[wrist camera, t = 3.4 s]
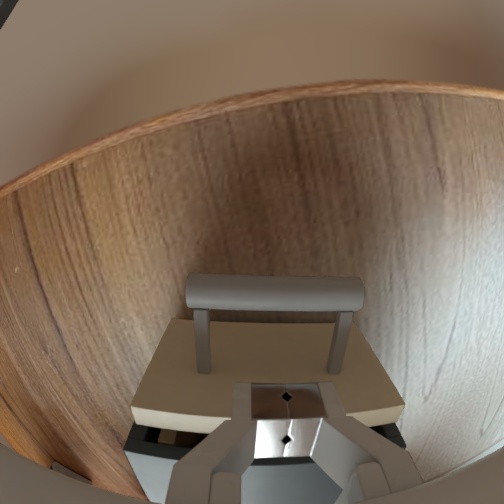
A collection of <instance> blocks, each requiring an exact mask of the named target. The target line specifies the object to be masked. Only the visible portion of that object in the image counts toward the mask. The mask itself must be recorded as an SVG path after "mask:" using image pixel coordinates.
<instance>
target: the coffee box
mask: <svg viewBox="0 0 504 504" xmlns="http://www.w3.org/2000/svg"><path fill="white" fill-rule="evenodd" d="M50 469H51V470H54V471H56V472H58V473H61V474H63V475H65V476H68V477H70V478H73V479H76V480H78V481H81V482H84V483H87V484H89V485H92V482H91V481H89V480H87V479H86V478H84V477H82V476H80V475H78V474H76V473H74V472H73V471H71V470H69V469H67V468H66V467H64V466H62V465H61V464H59V463H57V462H56V461H54V462H53V464H52V465H51V467H50Z"/></svg>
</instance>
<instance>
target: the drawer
mask: <svg viewBox="0 0 504 504" xmlns="http://www.w3.org/2000/svg"><path fill="white" fill-rule="evenodd" d="M185 299H186V305H187V307H189V308H194V309H193V318H194V320H183V319H171V321H170V323H169V325H168V327H167V329H166V331H165V333H164V335H163V337H162V339H161V341H160V343H159V345H158V347H157V349H156V351H155V353H154V355H153V357H152V360H151V362H150V364H149V366H148V368H147V370H146V372H145V374H144V376H143V379H142V381H141V383H140V385H139V387H138V389H137V392H136V394H135V396H134V398H133V400H132V402H131V405H130V407H131V411H132V414H133V417H134V420H135V423H136V424H139V425H144V426H150V427H156V428H161V431H160V435H159V438H158V444H163V445H170V446H177V447H185V448H194V447H196V446H197V445H198V444H199V443H200V442H201V441H202V440H204V439H205V438H206V437H207V436H208V435H209V434H210V433H211V432H213V431H214V430H215V429H216V428H217V427H218V426H219V425H220V424H221V423H222V422H223V421H224V420H231V409H232V394H233V384H234V382H248V383H251V382H253V383H312V382H315V383H316V382H323V381H332V382H334V385H335V387H336V390H337V393H338V395H339V398H340V400H341V403H342V406H343V408H344V411H345V414H346V416H352V417H354V418H355V419H357V420H358V421H360V422H361V423H363V424H364V425H366V426H368V427H372V426H378V425H384V424H389V423H394V422H397V421H398V419H399V417H400V415H401V413H402V411H403V409H404V406H405V402H404V401H403V399H402V397H401V396H400V394H399V392H398V391H397V389H396V387H395V386H394V384H393V382H392V381H391V379H390V378H389V376H388V374H387V373H386V371H385V370H384V368H383V366H382V365H381V363H380V362H379V360H378V358H377V357H376V355H375V354H374V352H373V351H372V349H371V347H370V346H369V344H368V343H367V341H366V340H365V338H364V337H363V335H362V333H361V332H360V330H359V329H358V327H357V326H356V324H355V323H354V322H353V323H352V318H353V311H358V310H360V309H361V308H362V306H363V304H364V299H365V287H364V283H363V281H362V279H361V278H359V277H308V276H267V275H236V274H209V273H189V274H188V276H187V279H186V287H185ZM209 309H225V310H254V311H337V313H336V319H335V323H241V322H217V321H210V316H209Z"/></svg>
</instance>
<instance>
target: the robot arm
mask: <svg viewBox="0 0 504 504" xmlns="http://www.w3.org/2000/svg"><path fill="white" fill-rule="evenodd" d="M304 456H311V458H312V459H313V460H314V461H315V462H316V463H317V464H318V465H319V466H320V467H321V468H322V469H323V470H324V472H325V473H326V474H327V475H328V476H330V477H331V478H332V479H333V480H334V481H335V482H336V483H337V484H338V485H339V486H340V487H341V488H342V489H343V491H342V493H341V494H340V496H339V497H338V499H337V500H336V502H335V503H334V504H504V446H503V447H502V448H500V449H498V450H496V451H495V452H493V453H491V454H489V455H487V456H485V457H484V458H482V459H480V460H478V461H476V462H474V463H472V464H470V465H467V466H465V467H463V468H461V469H459V470H457V471H454V472H452V473H450V474H447V475H445V476H442V477H440V478H437V479H435V480H432V481H429V482H427V483H423V480H422V478H421V476H420V474H419V472H418V470H417V468H416V466H415V464H414V462H413V460H412V457H411V455H410V453H409V452H408V451H406V450H404V449H403V448H401V447H399V446H398V445H396V444H394V443H393V442H391V441H390V440H388V439H386V438H385V437H383V436H382V435H380V434H378V433H377V432H375V431H374V430H372V429H371V428H369V427H368V426H366V425H364V424H363V423H361V422H360V421H358V420H357V419H355V418H354V417H352V416H346V414H345V411H344V408H343V406H342V403H341V400H340V398H339V395H338V393H337V390H336V387H335V385H334V382H332V381H323V382H316V383H315V382H312V383H253V382H251V383H248V382H234V384H233V394H232V409H231V420H224V421H223V422H222V423H221V424H220V425H219V426H218V427H217V428H216V429H215V430H214V431H213V432H211V433H210V434H209V435H208V436H207V437H206V438H205V439H204V440H202V441H201V442H200V443H199V444H198V445H197V446H196V447H194V448H193V449H192V450H191V451H190V452H189V453H187V454H186V455H185V456H184V457H183V458H181V459H180V460H179V461H178V462H177V463H175V464H174V465H173V468H172V473H171V477H170V482H169V486H168V490H167V495H166V499H165V504H241V476H242V475H243V474H244V472H245V471H246V470H247V468H248V467H249V466H250V464H251V463H252V462H253V460H254V458H276V457H304ZM0 504H161V503H156V502H151V501H146V500H142V499H137V498H133V497H129V496H125V495H122V494H118V493H115V492H111V491H108V490H105V489H101V488H98V487H95V486H92V485H89V484H87V483H84V482H81V481H78V480H76V479H73V478H70V477H68V476H65V475H63V474H61V473H58V472H56V471H54V470H51V469H49V468H47V467H45V466H43V465H41V464H39V463H36V462H34V461H32V460H30V459H29V458H27V457H25V456H23V455H21V454H19V453H17V452H15V451H14V450H12V449H10V448H8V447H6V446H5V445H3V444H1V443H0Z"/></svg>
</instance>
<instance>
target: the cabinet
mask: <svg viewBox="0 0 504 504" xmlns="http://www.w3.org/2000/svg"><path fill="white" fill-rule="evenodd" d="M369 428H371V429H372V430H374V431H375V432H377V433H378V434H380V435H382V436H383V437H385V438H386V439H388V440H390V441H391V442H393V443H394V444H396V445H398V446H399V447H401V448H403V449H404V450H405V448H406V444H405V442H404V440H403V438H402V436H401V434H400V432H399V430H398V428H397V426H396V424H395V422H394V423H389V424H384V425H378V426H372V427H369ZM160 431H161V428H156V427H150V426H144V425H139V424H136V423H135V421H134V423H133V426H132V428H131V431H130V433H129V436H128V439H127V441H126V443H125V446H124V449H123V451H124V453H125V455H126V457H127V459H128V461H129V463H130V465H131V467H132V469H133V471H134V473H135V475H136V477H137V479H138V481H139V483H140V485H141V487H142V489H143V490H144V492H145V494H146V496H147V497H148V499H149V501H151V502H156V503H161V504H165V499H166V495H167V490H168V486H169V482H170V477H171V473H172V468H173V465H174V464H175V463H177V462H178V461H179V460H180V459H181V458H183V457H184V456H185V455H186V454H187V453H189V452H190V451H191V450H192V449H193V448H185V447H177V446H170V445H163V444H158V438H159V435H160ZM342 491H343V489H342V488H341V487H340V486H339V485H338V484H337V483H336V482H335V481H334V480H333V479H332V478H331V477H330V476H328V475H327V474H326V473H325V472H324V470H323V469H322V468H321V467H320V466H319V465H318V464H317V463H316V462H315V461H314V460H313V459H312V458H311V456H304V457H276V458H254V460H253V462H252V463H251V464H250V466H249V467H248V468H247V470H246V471H245V472H244V474H243V475H242V476H241V504H334V503H335V502H336V500H337V499H338V497H339V496H340V494H341V493H342Z"/></svg>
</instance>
